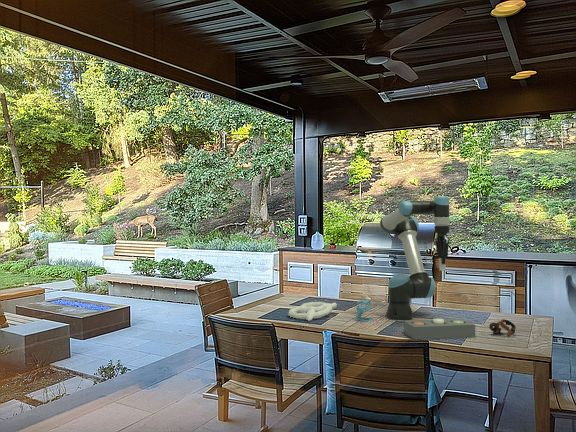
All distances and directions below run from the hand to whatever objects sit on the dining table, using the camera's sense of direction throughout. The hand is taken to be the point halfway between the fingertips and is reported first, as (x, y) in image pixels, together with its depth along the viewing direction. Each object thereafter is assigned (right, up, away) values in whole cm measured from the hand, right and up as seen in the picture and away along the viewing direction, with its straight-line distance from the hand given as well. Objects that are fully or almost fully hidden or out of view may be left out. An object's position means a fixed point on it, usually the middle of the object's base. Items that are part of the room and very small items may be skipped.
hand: (442, 270), depth 245 cm
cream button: (-8, -25, -18) cm, 32 cm away
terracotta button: (-18, -26, -19) cm, 37 cm away
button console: (-8, -29, -18) cm, 35 cm away
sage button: (+2, -26, -17) cm, 31 cm away
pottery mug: (+22, -29, -19) cm, 41 cm away
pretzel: (-67, -31, +30) cm, 80 cm away
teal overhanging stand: (-39, -30, +17) cm, 52 cm away
